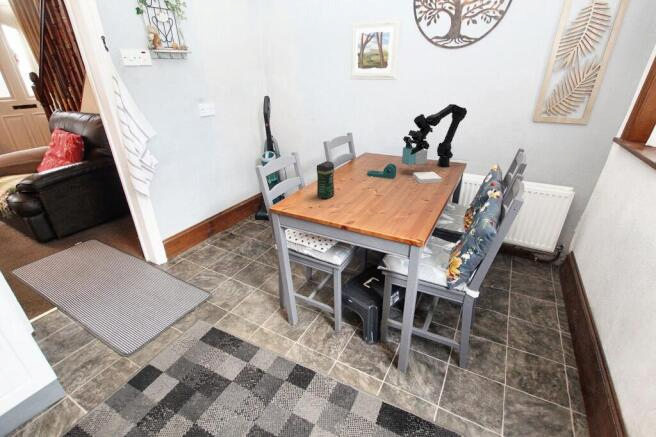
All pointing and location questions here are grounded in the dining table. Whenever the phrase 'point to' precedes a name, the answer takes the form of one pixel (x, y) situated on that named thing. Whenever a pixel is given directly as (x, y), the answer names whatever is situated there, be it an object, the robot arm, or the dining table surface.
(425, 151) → the small box
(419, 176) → the riser block
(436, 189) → the dining table surface
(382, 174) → the bracket
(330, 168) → the coffee jar
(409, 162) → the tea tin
